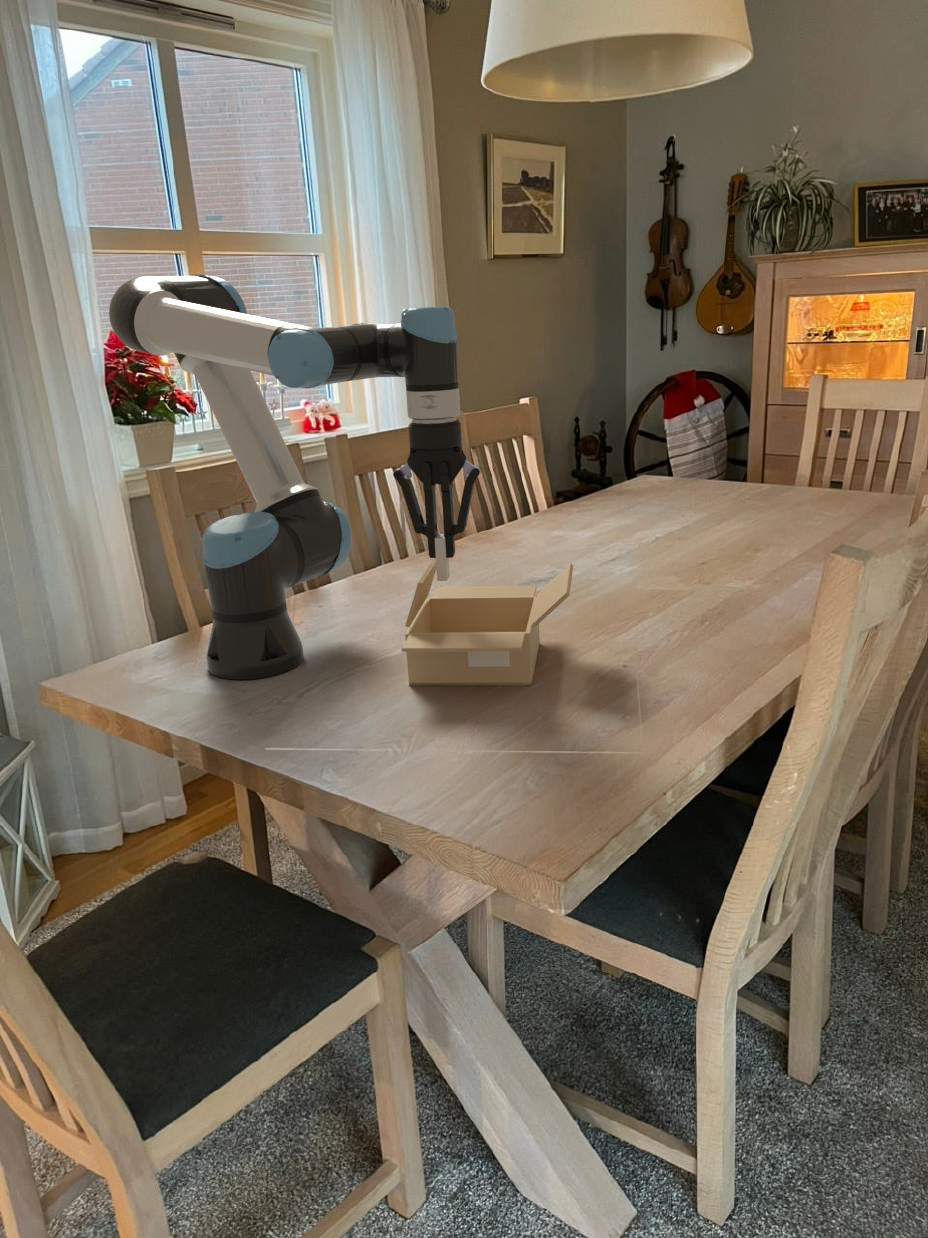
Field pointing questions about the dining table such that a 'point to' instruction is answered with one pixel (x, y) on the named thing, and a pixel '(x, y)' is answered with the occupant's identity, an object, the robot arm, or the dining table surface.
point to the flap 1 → (421, 592)
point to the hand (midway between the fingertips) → (443, 578)
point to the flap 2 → (552, 595)
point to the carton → (474, 637)
